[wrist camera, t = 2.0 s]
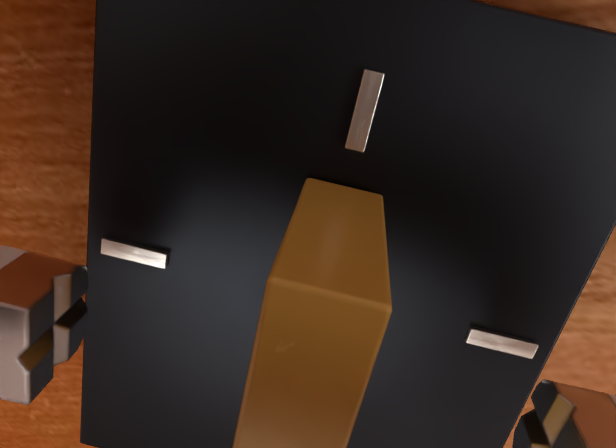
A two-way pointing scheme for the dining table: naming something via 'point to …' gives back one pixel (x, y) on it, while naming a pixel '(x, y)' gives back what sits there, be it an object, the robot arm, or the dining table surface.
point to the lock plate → (347, 172)
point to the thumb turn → (318, 322)
